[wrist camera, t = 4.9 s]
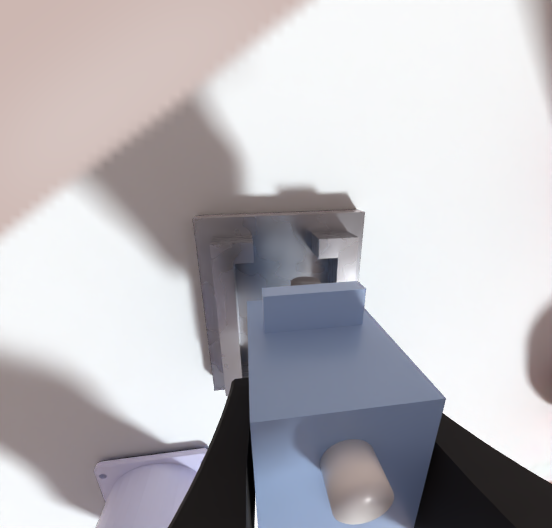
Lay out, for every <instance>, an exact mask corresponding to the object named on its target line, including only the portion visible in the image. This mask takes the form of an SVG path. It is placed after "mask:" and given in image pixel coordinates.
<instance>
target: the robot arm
mask: <svg viewBox="0 0 552 528" xmlns="http://www.w3.org/2000/svg"><path fill="white" fill-rule="evenodd" d="M94 473H95V476H96V479H97V481H98V484H99V487H100V489H101V492H102V495H103V497H104V500H105V506H104V508H103V511H102V513H101V515H100V518H99V520H98V523H97V525H96V527H95V528H254V520H255V481H254V468H253V456H252V443H251V431H250V407H249V377H248V378H238V379H234V380H233V381H232V382H231V387H230V391H229V395H228V398H227V401H226V404H225V407H224V410H223V413H222V416H221V418H220V421H219V423H218V426H217V428H216V431H215V433H214V436H213V438H212V441H211V443H210V445H209V447H208V449H207V448H200V449H193V450H185V451H178V452H170V453H162V454H155V455H147V456H139V457H132V458H124V459H116V460H109V461H102V462H99V463H98V464H97V465H96V467H95V469H94ZM414 528H552V484H551V483H549V482H548V481H546V480H544V479H542V478H541V477H539V476H537V475H536V474H534V473H532V472H531V471H529V470H527V469H526V468H524V467H522V466H521V465H519V464H518V463H516V462H514V461H513V460H511V459H510V458H508V457H506V456H505V455H503V454H502V453H500V452H499V451H497V450H495V449H494V448H492V447H491V446H489V445H488V444H486V443H485V442H483V441H482V440H480V439H479V438H477V437H476V436H474V435H473V434H471V433H470V432H469V431H467V430H466V429H464V428H463V427H461V426H460V425H458V424H457V423H456V422H454V421H453V420H451V419H450V418H449V417H447V416H446V415H445V414H443V413H442V416H441V420H440V424H439V428H438V432H437V436H436V440H435V444H434V448H433V452H432V456H431V460H430V464H429V468H428V472H427V476H426V480H425V484H424V488H423V492H422V496H421V500H420V504H419V508H418V512H417V517H416V521H415V525H414Z"/></svg>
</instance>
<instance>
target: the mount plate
mask: <svg viewBox="0 0 552 528" xmlns="http://www.w3.org/2000/svg"><path fill="white" fill-rule="evenodd" d="M364 216H365V212H363V211H360V210H333V211H306V212H279V213H253V214H226V215H199V216H195V217H194V218H193V224H194V232H195V240H196V248H197V256H198V264H199V272H200V280H201V288H202V296H203V303H204V311H205V319H206V327H207V335H208V343H209V351H210V359H211V367H212V375H213V383H214V391H215V390H224V389H225V392H226V396H228V395H229V391H230V387H231V382H232V381H233V380H234V379H238V378H248V377H249V367H248V326H247V301H256V300H262V288H267V287H281V286H291V280H292V279H294V278H296V277H302V276H308V277H314V278H317V279H319V280H320V281H321V284H322V283H336V282H350V281H359V270H360V259H361V248H362V238H363V227H364Z"/></svg>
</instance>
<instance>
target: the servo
mask: <svg viewBox="0 0 552 528" xmlns="http://www.w3.org/2000/svg"><path fill="white" fill-rule="evenodd" d="M365 293H366V289H365V288H364V287H363V286H362V285H361V284H360V283H359V282H358V281H350V282H336V283H322V284H321V281H320V280H319V279H317V278H314V277H308V276H302V277H296V278H294V279H292V280H291V286H281V287H267V288H262V300H256V301H247V326H248V367H249V407H250V431H251V443H252V456H253V468H254V481H255V493H256V506H257V518H258V528H414V525H415V521H416V517H417V512H418V508H419V504H420V500H421V496H422V492H423V488H424V484H425V480H426V476H427V472H428V468H429V464H430V460H431V456H432V452H433V448H434V444H435V440H436V436H437V432H438V428H439V424H440V420H441V416H442V412H443V408H444V404H445V400H446V398H445V397H444V396H443V395H442V394H441V393H440V391H439V390H438V389H437V388H436V387H435V386H434V385H433V384H432V383H431V381H430V380H429V379H428V378H427V377H426V376H425V375H424V374H423V373H422V371H421V370H420V369H419V368H418V367H417V366H416V365H415V364H414V363H413V362H412V360H411V359H410V358H409V357H408V356H407V355H406V354H405V353H404V352H403V350H402V349H401V348H400V347H399V346H398V345H397V344H396V343H395V342H394V340H393V339H392V338H391V337H390V336H389V335H388V334H387V333H386V332H385V330H384V329H383V328H382V327H381V326H380V325H379V324H378V323H377V322H376V320H375V319H374V318H373V317H372V316H371V315H370V314H369V313H368V312H367V311H366V309H365V308H364V303H365Z"/></svg>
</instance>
